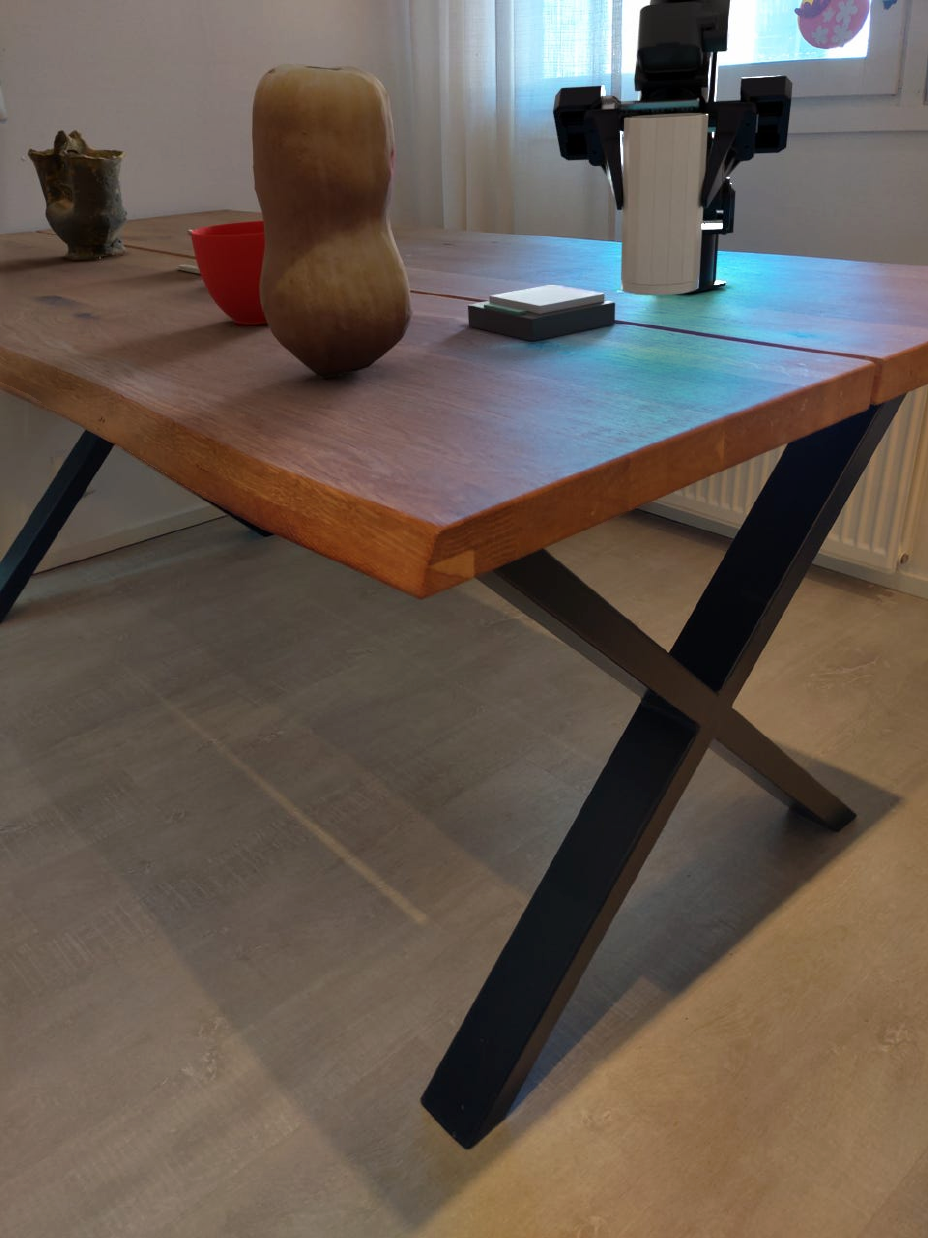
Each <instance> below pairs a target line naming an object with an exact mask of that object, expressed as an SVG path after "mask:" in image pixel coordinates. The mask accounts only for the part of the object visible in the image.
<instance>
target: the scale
mask: <svg viewBox="0 0 928 1238" xmlns="http://www.w3.org/2000/svg"><path fill="white" fill-rule="evenodd" d="M488 297H489V300H487V301H481V302H476V303H475V302H474V303H471V304H467V318H468V319H467V321H468V327H471V328H476V329H480V330H483V331H484V330H485V331H488V332H492V333H496V334H500V335H505V336H508V337H513V338H515V339H516V338H517V339H521V340H525V341H529V342H537V341H541V340H546V339H550V338H555V337H560V336H565V335H570V334H574V333H579V332H583V331H587V330H588V331H589V330H592V329H598V328H603V327H606V326H610V325H615V324H616V302H615V301H611V300H606V299H605V297H606V295H605V293H603V292H598V291H594V290H593V291H592V290H588V289H587V290H586V289H581V288H575V287H569V286H564V285H558V284H546V285H541V286H536V287H535V286H534V287H530V288H525V289H519V290H514V291H508V292H503V293H497V294H491V295H489V296H488Z"/></svg>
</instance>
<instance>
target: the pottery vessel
mask: <svg viewBox="0 0 928 1238" xmlns="http://www.w3.org/2000/svg"><path fill="white" fill-rule="evenodd" d="M27 157H28V158H29V160H30V161H31V162H32V164H33V166H34V168H35V171H36V175H37V178H38V180H39V184H40V188H41V191H42V194H43V198H44V200H45V214H44V215H45V218H46V221H47V223H48V224H49V227H50V228H51V229H52V230H53V232H54V233H55V234H56V235H57V237H58V238H59V239H60V240H61V241H62V242H63V243H64V244H66V245H67V253H66V254H65V257H66V259H68V260H70V261H88V260H92V261H93V260H94V261H95V260H101V257H103V256H104V257H108V256H113V255H114V254H115V250H116V249H117V250H119V251H120V252H123V253H125V254H126V253H127V249H126V247H125V245H124V244H123V242H122V241H123V240H121V236H120V235H121V233H122V231H123V229H124V226H125V225H126V221H127V215H128V212H127V211H126V209H125V207H124V206H123V198H122V189H121V187H122V186H121V168H122V167H121V166H122V162H123V160H124V158H125V157H126V152H125V151H123V150H119V149H98V148H97V149H96V148H92V147H91V146H90V145H89V143H88V142H87V140H85V139H84V138H83V134H82V133H81V132H80V131H79V130H75V129H73V130H72V131H71V132H70V133H67V132H65V130H64V129H62V130H58V131H57V133H56V135H55V137H54V141H53V148H47V149H45V150H36V149H33V148H29V149H28V151H27Z"/></svg>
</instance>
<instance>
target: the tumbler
mask: <svg viewBox="0 0 928 1238" xmlns="http://www.w3.org/2000/svg"><path fill="white" fill-rule="evenodd" d="M707 130H708V113H677V114H657V115H642V116H632V117H626V118H624V131H623V207H622V210H621V211H622V212H621V219H622V220H621V256H620V257H621V258H620V262H621V263H620V264H621V265H620V288H621V289H620V290H621V291H623V292H625V293H627V294H633V295H638V296H639V295H640V296H671V295H680V294H688V293H687V292H691V291H694V290H696V289H698V287H699V273H700V255H701V237H702V224H703V222H702V219H703V208H702V196H703V184H704V179H705V166H706V148H707Z"/></svg>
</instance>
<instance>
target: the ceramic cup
mask: <svg viewBox="0 0 928 1238" xmlns="http://www.w3.org/2000/svg"><path fill="white" fill-rule="evenodd" d="M192 230H193V231H192V232H191V236H190V238H191V243H192V249H193V252H194V256H195V260H196V264H197V267H199V271H200V274H199V275H200V277H201V279H202V281H203V284H204V286H205V288H206V290H207V292H208V294H209V296H210V298H212V300H213V301H214V303H215V304H216V306H217V307H219V309H220V310H221V311H222V312H224V314H225V315H226V316H228V317H229V318H230V319H231V320H232V322H233V323H235V324H238V325H244V326H245V325H246V326H247V325H249V326H251V325H253V326H254V325H255V326H257V325H268V323H267V320H266V317H265V314H264V312H262V310H263V309H262V306H261V301H260V278H261V271H262V265H263V258H264V252H265V234H264V222H263V220H253V221H240V222H231V223H223V224H222V223H221V224H215V225H209V226H204V227H200V228H196V229H192Z"/></svg>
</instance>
